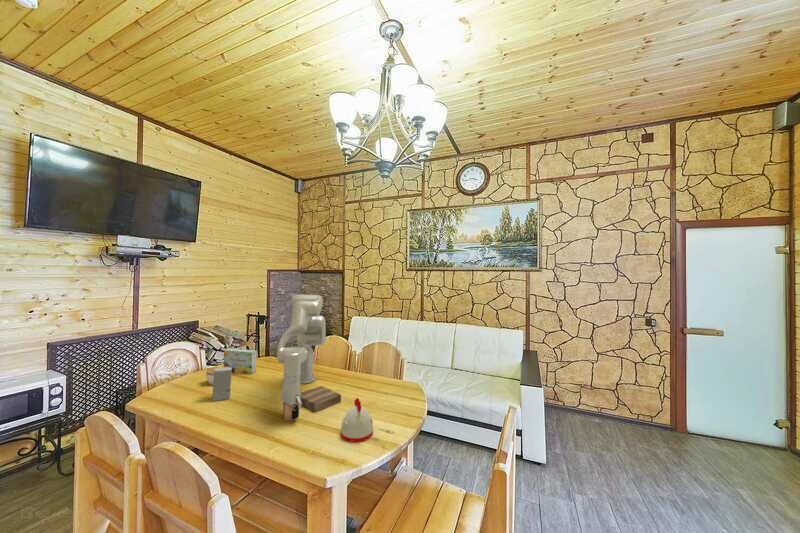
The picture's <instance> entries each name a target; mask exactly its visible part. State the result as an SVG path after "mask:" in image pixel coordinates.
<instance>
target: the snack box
mask: <svg viewBox="0 0 800 533" xmlns="http://www.w3.org/2000/svg"><path fill="white" fill-rule="evenodd" d="M223 367H232V372H231V373H234V374H235V373H236V374H242V375H243V374H244V375H252V374H254V373H256V372H257V350H255V349H244V348H233V347H232V348H231V347H227V348H226V349H223Z"/></svg>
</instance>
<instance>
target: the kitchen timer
mask: <svg viewBox="0 0 800 533" xmlns="http://www.w3.org/2000/svg"><path fill="white" fill-rule="evenodd" d="M361 404H362V403H361V401H360V398H359V397H356V398H355V400H354V406H351V407H350V408H349V410H348V411H347V412H346V413H345V416H344V417H343V416H342V421H341V428H340V437H341V438H342V439H343V440H344V441H346V442H350V443H361V442H365V441H367V439H368V440H369V439H371V437H372V436H374V435H373V433H374V426H373V417H372V416H371V415H370V414H371V413H369V412H368V410H367V409H366V408H365V407H364V406H362V405H361Z"/></svg>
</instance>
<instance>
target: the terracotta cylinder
mask: <svg viewBox="0 0 800 533" xmlns="http://www.w3.org/2000/svg"><path fill="white" fill-rule="evenodd" d="M295 403H296V402H295ZM283 406H284V414H283V420H284V421H285V422H293V421H295V420H297V419H298V418H296V419H292V411H293V407H292V406H291V405H289V404H287V403H285V404H284V405H283ZM296 406H297V405H296V404H295V407H296Z"/></svg>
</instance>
